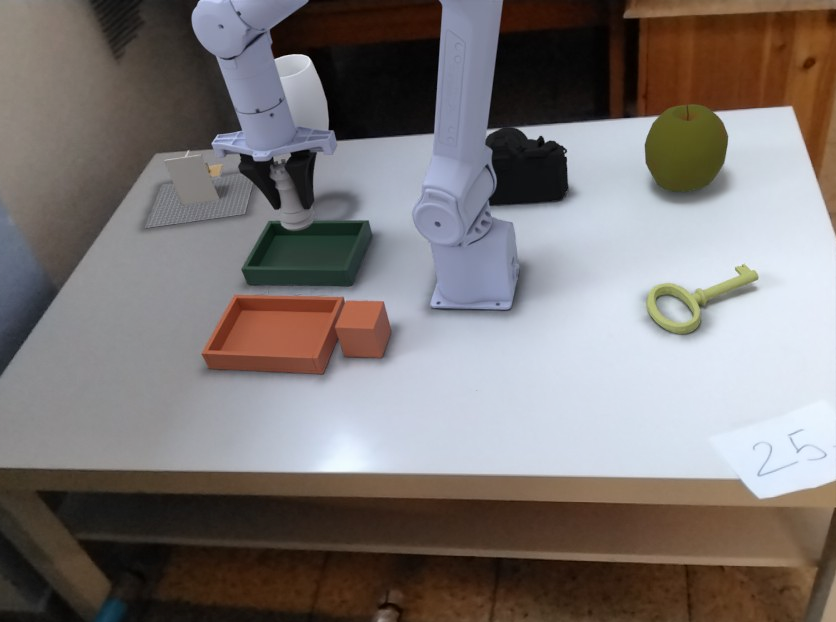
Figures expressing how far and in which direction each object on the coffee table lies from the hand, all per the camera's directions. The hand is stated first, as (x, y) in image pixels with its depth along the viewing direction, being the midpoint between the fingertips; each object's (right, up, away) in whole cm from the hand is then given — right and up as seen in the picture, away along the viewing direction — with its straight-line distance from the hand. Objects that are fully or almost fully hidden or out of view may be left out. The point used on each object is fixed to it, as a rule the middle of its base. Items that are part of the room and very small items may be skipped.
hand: (294, 204), depth 100 cm
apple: (+49, +4, +5) cm, 49 cm away
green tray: (+1, -6, +7) cm, 9 cm away
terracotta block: (+9, -17, -6) cm, 21 cm away
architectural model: (-17, +5, +22) cm, 28 cm away
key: (+46, -13, -10) cm, 49 cm away
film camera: (+28, +5, +11) cm, 30 cm away
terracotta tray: (-1, -17, -3) cm, 17 cm away
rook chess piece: (0, -2, +2) cm, 3 cm away
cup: (+2, +2, +14) cm, 15 cm away
